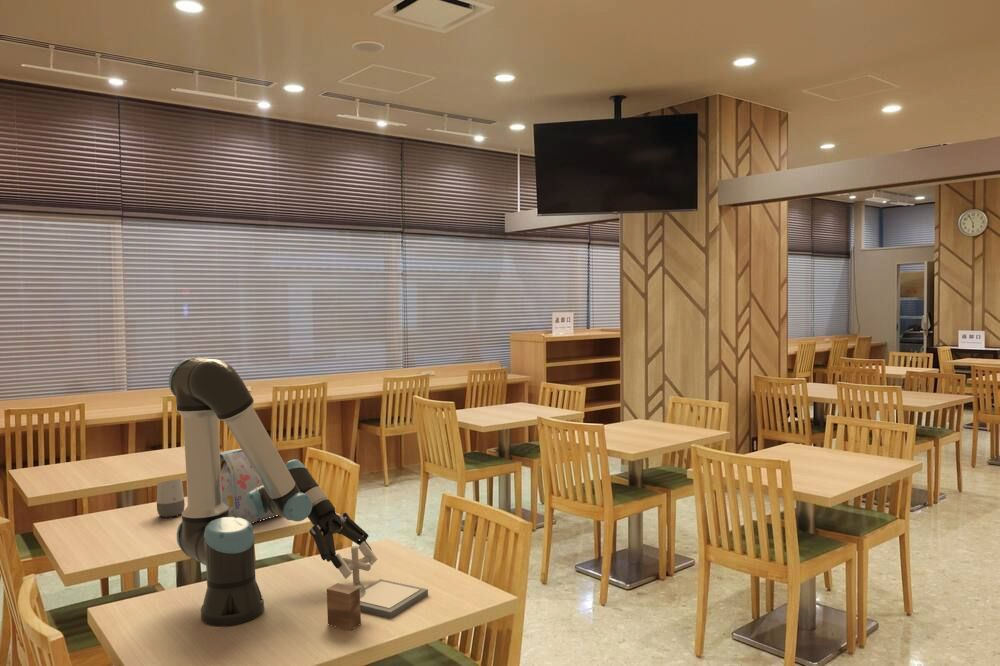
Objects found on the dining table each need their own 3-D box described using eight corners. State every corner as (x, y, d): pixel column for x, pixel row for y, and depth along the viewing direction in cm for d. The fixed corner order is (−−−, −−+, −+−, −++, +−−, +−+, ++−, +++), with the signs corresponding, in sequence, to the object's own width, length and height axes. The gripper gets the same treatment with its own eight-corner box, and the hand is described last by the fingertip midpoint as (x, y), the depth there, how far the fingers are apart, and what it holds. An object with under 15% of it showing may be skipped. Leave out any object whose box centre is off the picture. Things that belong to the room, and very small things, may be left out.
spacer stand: (364, 634, 179) (363, 597, 178) (314, 621, 187) (312, 585, 186) (428, 594, 201) (427, 561, 201) (380, 584, 209) (379, 552, 209)
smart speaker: (179, 510, 288) (178, 473, 287) (188, 515, 281) (187, 477, 280) (153, 515, 281) (151, 478, 280) (162, 520, 274) (160, 482, 274)
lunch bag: (260, 508, 287) (257, 439, 286) (289, 515, 278) (286, 443, 276) (207, 524, 269) (203, 450, 268) (236, 532, 259) (232, 455, 258)
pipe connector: (356, 572, 218) (354, 538, 218) (381, 579, 213) (380, 544, 212) (330, 584, 210) (328, 549, 209) (356, 592, 204) (354, 556, 204)
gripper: (337, 504, 228) (380, 563, 221) (281, 526, 208) (326, 591, 202) (350, 488, 225) (394, 548, 218) (294, 509, 205) (341, 575, 199)
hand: (362, 568), depth 210 cm, fingers closed on pipe connector, 10 cm apart
